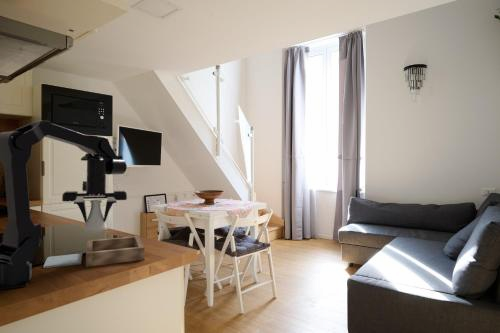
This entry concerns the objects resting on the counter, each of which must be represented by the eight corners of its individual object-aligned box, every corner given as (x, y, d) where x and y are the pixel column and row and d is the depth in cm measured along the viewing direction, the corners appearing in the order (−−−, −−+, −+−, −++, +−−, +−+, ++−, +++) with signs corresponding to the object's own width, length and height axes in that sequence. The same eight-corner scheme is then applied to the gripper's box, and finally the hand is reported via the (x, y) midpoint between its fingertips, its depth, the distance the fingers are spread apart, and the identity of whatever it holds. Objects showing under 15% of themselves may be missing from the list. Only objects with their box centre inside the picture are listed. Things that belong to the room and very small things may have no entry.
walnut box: (86, 266, 95) (86, 253, 95) (87, 251, 111) (87, 240, 111) (144, 259, 103) (144, 247, 103) (138, 246, 118) (138, 235, 118)
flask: (97, 233, 99) (98, 202, 99) (77, 232, 101) (78, 201, 101) (111, 229, 106) (112, 199, 106) (93, 228, 108) (93, 199, 108)
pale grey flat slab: (43, 268, 93) (43, 266, 93) (47, 258, 102) (47, 256, 102) (81, 263, 98) (81, 262, 98) (82, 255, 107) (82, 253, 107)
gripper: (125, 174, 115) (124, 216, 115) (66, 173, 107) (65, 219, 107) (127, 175, 105) (126, 221, 105) (62, 174, 97) (61, 225, 97)
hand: (95, 221), depth 104 cm, fingers closed on flask, 5 cm apart
